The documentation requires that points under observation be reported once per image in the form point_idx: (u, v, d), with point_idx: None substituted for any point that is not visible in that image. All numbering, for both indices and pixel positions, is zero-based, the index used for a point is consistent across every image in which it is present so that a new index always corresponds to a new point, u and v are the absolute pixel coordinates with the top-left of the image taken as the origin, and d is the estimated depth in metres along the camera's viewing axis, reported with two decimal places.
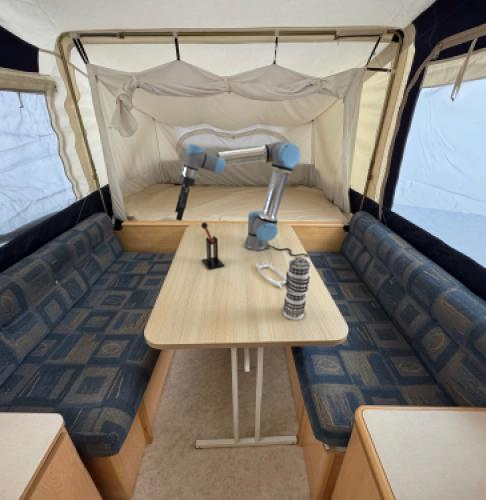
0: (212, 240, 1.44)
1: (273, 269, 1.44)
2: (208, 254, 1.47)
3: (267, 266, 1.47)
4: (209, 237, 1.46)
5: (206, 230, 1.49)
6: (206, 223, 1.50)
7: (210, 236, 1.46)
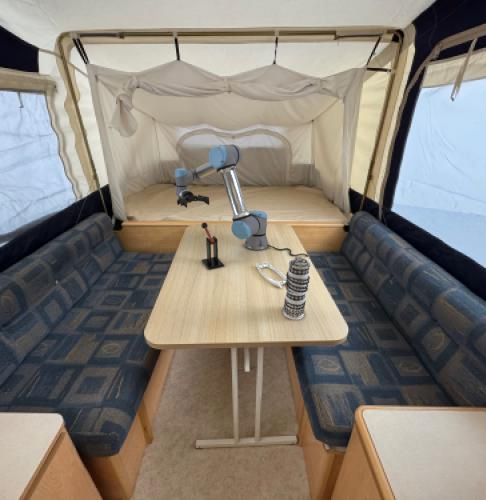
0: (212, 240, 1.44)
1: (273, 269, 1.44)
2: (208, 254, 1.47)
3: (267, 266, 1.47)
4: (209, 237, 1.46)
5: (206, 230, 1.49)
6: (206, 223, 1.50)
7: (210, 236, 1.46)
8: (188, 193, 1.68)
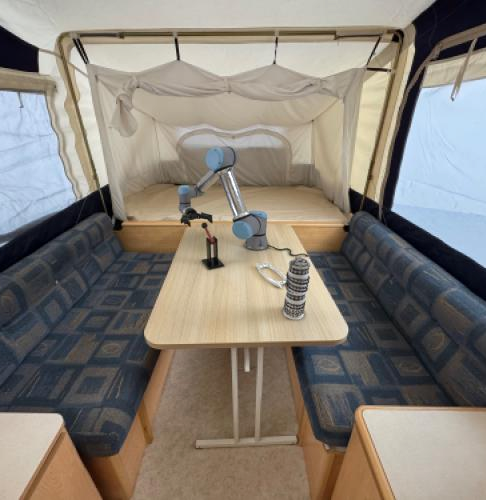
0: (212, 240, 1.44)
1: (273, 269, 1.44)
2: (208, 254, 1.47)
3: (267, 266, 1.47)
4: (209, 237, 1.46)
5: (206, 230, 1.49)
6: (206, 223, 1.50)
7: (210, 236, 1.46)
8: (191, 211, 1.68)
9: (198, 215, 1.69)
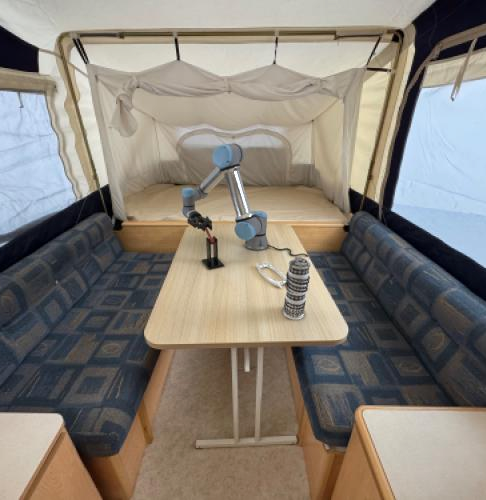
0: (212, 240, 1.44)
1: (273, 269, 1.44)
2: (208, 254, 1.47)
3: (267, 266, 1.47)
4: (209, 237, 1.46)
5: (206, 230, 1.49)
6: (206, 223, 1.50)
7: (210, 236, 1.46)
8: (196, 214, 1.61)
9: None
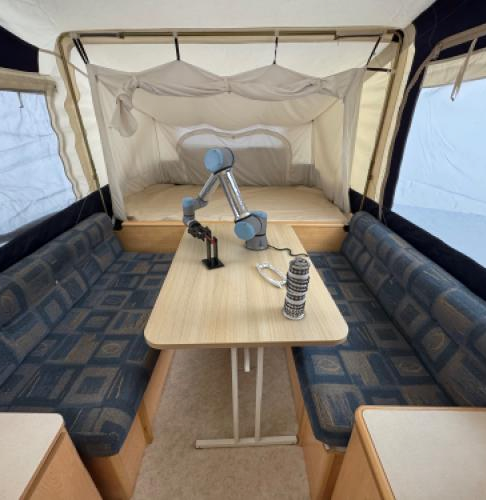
0: (212, 239, 1.44)
1: (273, 269, 1.44)
2: (208, 254, 1.47)
3: (267, 266, 1.47)
4: None
5: (206, 236, 1.51)
6: (205, 232, 1.55)
7: (210, 238, 1.47)
8: (196, 224, 1.65)
9: (202, 228, 1.66)
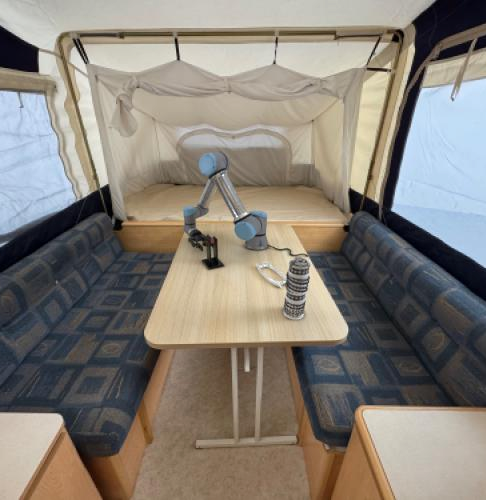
0: None
1: (273, 269, 1.44)
2: (208, 254, 1.47)
3: (267, 266, 1.47)
4: None
5: None
6: None
7: None
8: (197, 233, 1.67)
9: None
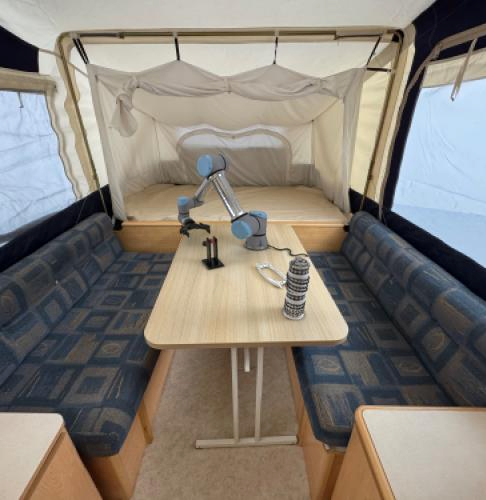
0: None
1: (273, 269, 1.44)
2: (208, 254, 1.47)
3: (267, 266, 1.47)
4: None
5: None
6: None
7: None
8: (190, 221, 1.76)
9: None
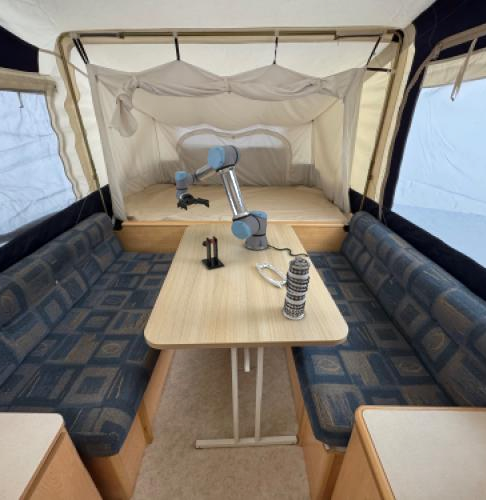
0: None
1: (273, 269, 1.44)
2: (208, 254, 1.47)
3: (267, 266, 1.47)
4: None
5: None
6: None
7: None
8: (188, 196, 1.69)
9: None
